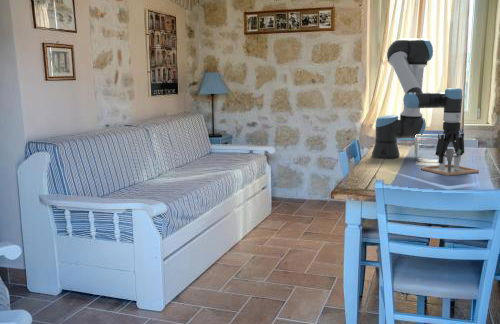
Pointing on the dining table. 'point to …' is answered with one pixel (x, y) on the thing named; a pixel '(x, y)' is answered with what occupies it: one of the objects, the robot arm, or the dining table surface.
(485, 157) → the dining table surface
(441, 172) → the wooden square frame
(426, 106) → the robot arm
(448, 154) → the mechanical component
